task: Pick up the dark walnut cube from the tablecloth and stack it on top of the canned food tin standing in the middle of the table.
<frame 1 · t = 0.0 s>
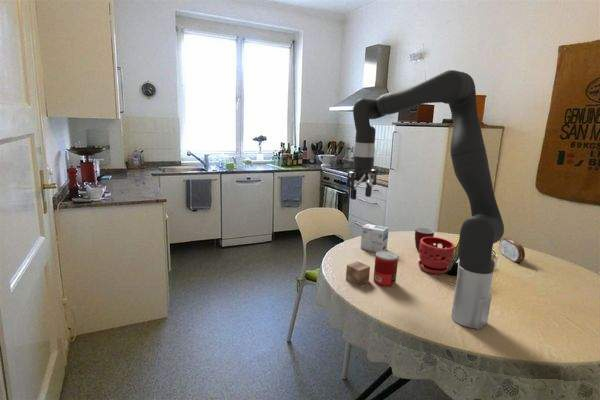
hand: (360, 197, 135), 29 cm above the table, fingers open, 8 cm apart
plant pot: (433, 270, 144), on the table
light bulb box: (373, 249, 165), on the table
canned food: (384, 282, 132), on the table
mug: (420, 250, 165), on the table
tin: (509, 258, 159), on the table
walnut block: (357, 280, 132), on the table
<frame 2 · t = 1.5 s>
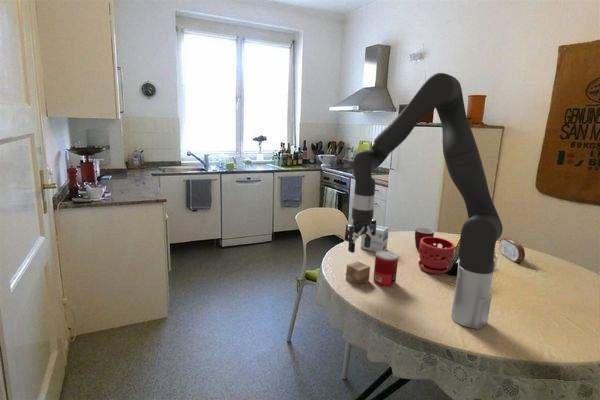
hand: (359, 249, 130), 12 cm above the table, fingers open, 8 cm apart
nothing on the table moved.
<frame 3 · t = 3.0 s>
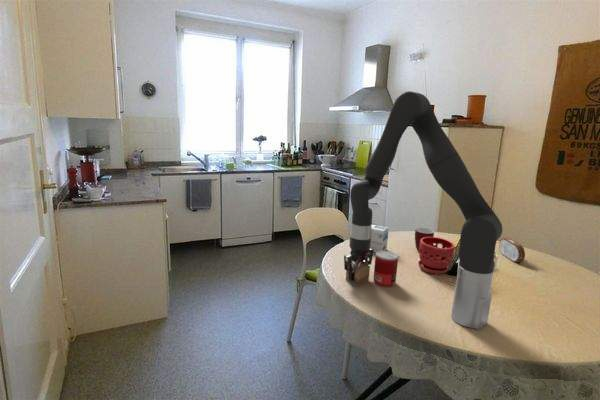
hand: (357, 278, 132), 1 cm above the table, fingers closed on walnut block, 6 cm apart
walnut block: (357, 280, 132), on the table, touching gripper
everything else where it was.
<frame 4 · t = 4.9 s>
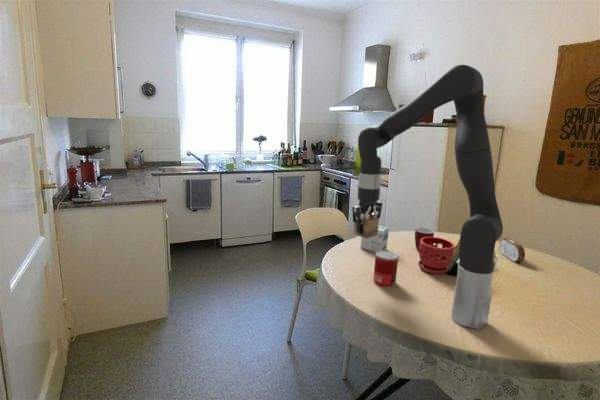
hand: (365, 232, 127), 19 cm above the table, fingers closed on walnut block, 6 cm apart
walnut block: (365, 234, 128), point 18 cm above the table, touching gripper
everything else where it was.
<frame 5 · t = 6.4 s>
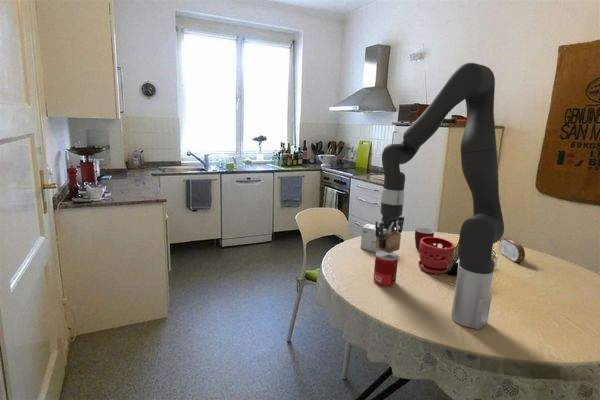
hand: (387, 246, 128), 14 cm above the table, fingers closed on walnut block, 6 cm apart
walnut block: (387, 248, 129), point 13 cm above the table, touching gripper
everything else where it was.
when the fingers open (13 cm above the table, at t = 7.1 s): walnut block drops 1 cm, resting on canned food.
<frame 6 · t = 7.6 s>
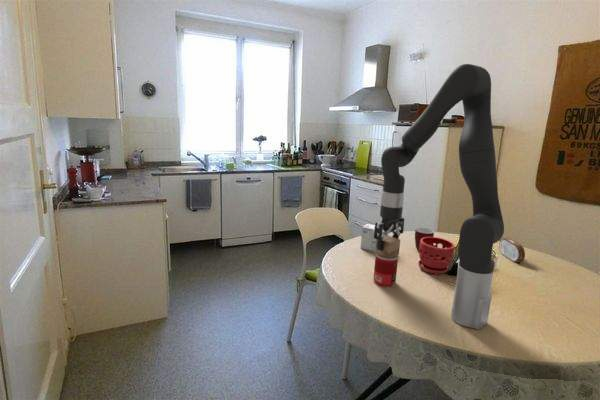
hand: (387, 247, 128), 14 cm above the table, fingers open, 8 cm apart
canned food: (384, 282, 132), on the table, touching walnut block
walnut block: (386, 254, 129), point 11 cm above the table, touching canned food
everything else where it was.
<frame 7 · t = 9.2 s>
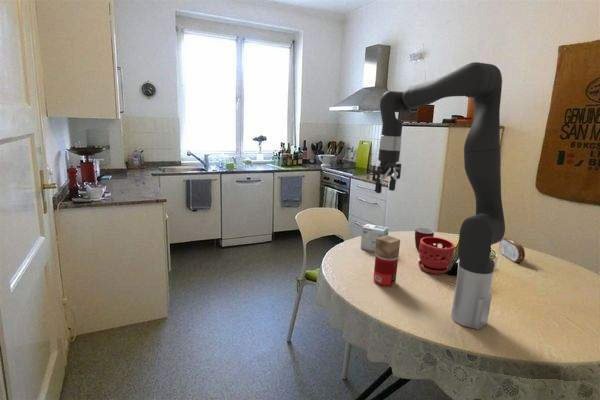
hand: (385, 191, 134), 32 cm above the table, fingers open, 8 cm apart
nothing on the table moved.
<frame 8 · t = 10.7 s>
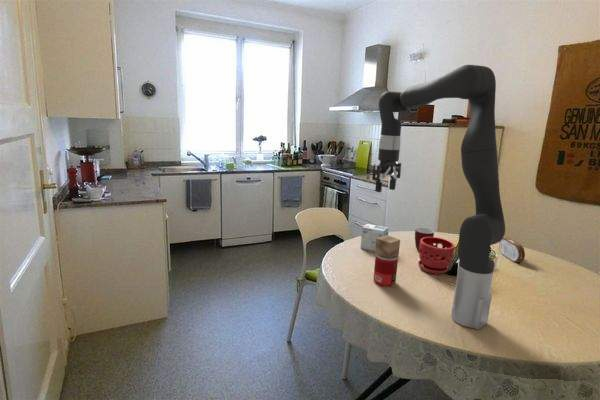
hand: (385, 190, 136), 32 cm above the table, fingers open, 8 cm apart
nothing on the table moved.
at the end: walnut block inside the target area on the canned food (0.1 cm from its centre), point 11.2 cm above the canned food's base; walnut block tilted 0°; the gripper is holding nothing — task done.
